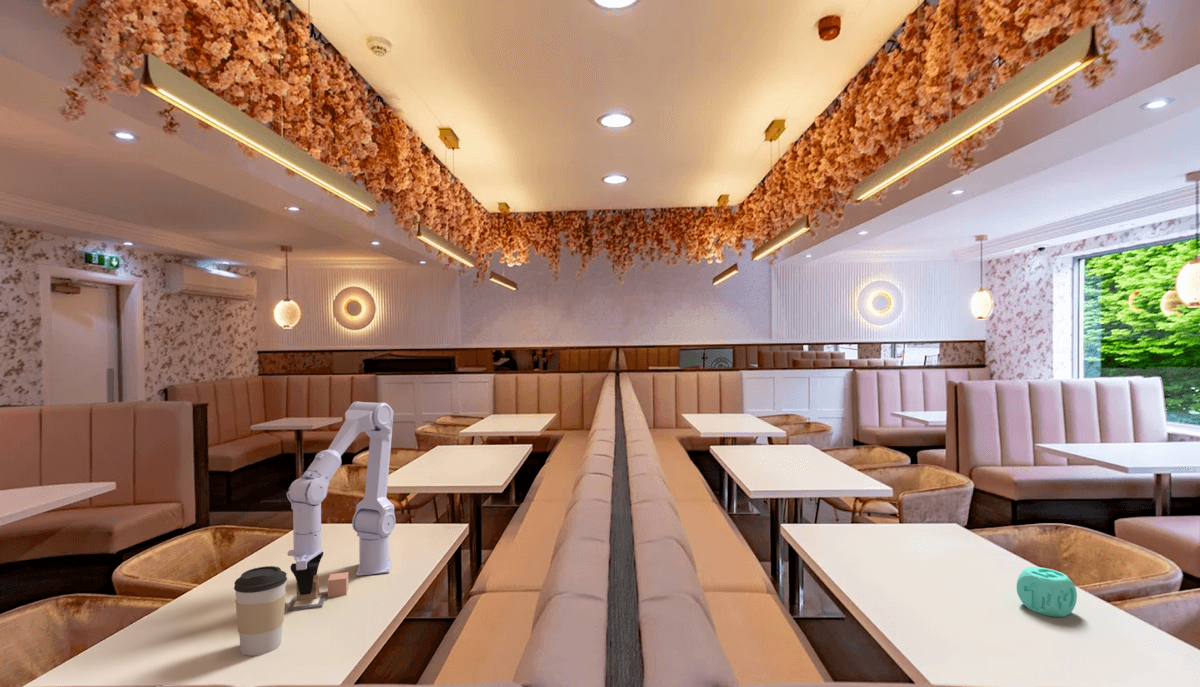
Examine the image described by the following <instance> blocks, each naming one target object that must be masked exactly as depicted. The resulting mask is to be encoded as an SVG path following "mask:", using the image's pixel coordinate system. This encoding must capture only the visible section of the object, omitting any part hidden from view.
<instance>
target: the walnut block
mask: <svg viewBox="0 0 1200 687" xmlns="http://www.w3.org/2000/svg"><path fill="white" fill-rule="evenodd" d="M318 594H320V574H317V575H314V579H313V586H312V591H311V593H310V594H306V595H300V592H299V588H298V584H297V583H296V596H297V601H303V600H312V599H316V598H317V596H318Z"/></svg>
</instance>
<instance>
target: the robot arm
mask: <svg viewBox="0 0 1200 687" xmlns="http://www.w3.org/2000/svg"><path fill="white" fill-rule="evenodd" d="M394 415H395V414H394V410H393V409H392V407H391V405H390V404H388V403H386V402H369V401H368V402H367V401H364V402H363V401H359V400H358V401H354V402H352V403H351V404H350V406H349V407H348V409H347V410H346V412H345V413H344V419H345V420H344V422H343V424H342V425H341V427H340V429H339V430H338V432H337V433H336V435H335V436H334V439H333V440H332V441H331V443H330V445H329V446H328V449H325V450H321V451H319V452H317V453H316V454H315V457H314V459H313V461H312V462H311V463H310V465H309V466H308V467H307V469H306V470H305V471H304V472H303V474H302V476H301V477H299V478H297V479H295V480H294V481H292V483H290V486H289V487H288V491H287V492H286V497H287V500H288V501H289V502H290V505H291V508H290V509H291V510H292V511H293V512H292V514H293V515H292V516H293V517H292V520H293V521H292V522H293V525H292V526H293V529H292V531H293V532H292V533H293V537H292V538H293V541H292V542H293V547H292V549H290V550H288V551H287V556H288V557H293V558H294V561H295V563H291V565H290V571H291V573H292V574H293V575H294V577H295V580H296V585H297V584H298V588H299V592H300V595H306V594H310V593H311V591H312V586H313V579H314V575H318V570H319V565H320V562H321V560H322V558H323V555H324V552H323V547H322V502H323V501H324V499H326V498H327V496H328V490H329V489H328V488H329V486H330V481H331V480H332V479H333V477H334V475H335V474H336V473H337V471H338V469H339V468H340V467H341V466H342V456H343V455H344V453H345V452H346V451H347V450H348V449H349V447H350V446H351V444H352V443H353V442H354V441H355V439H356V438H357V437H358V436H359V434H360V433H365V434H366V435H367V436H368V438H369V446H368V458H367V467H366V468H367V469H366V478H365V479H366V480H365V488H364V489H365V490H364V497H363V499H362V500H361V501H359V502H358V503H356V507H355V508H356V509H355V512H354V515H353V517H352V520H351V525H352V529H353V530H354V532H356V536H357V537H359V538H358V539H359V540H358V542H359V544H358V545H359V551H358V552H359V554H358V556H359V561H358V562H359V564H358V568H357V571H356V576H357V577H359V576H367V575H379V574H380V575H381V574H387V573H390V570H391V564H392V558H389V557H390V555H389V553H390V552H389V550H390V549H389V546H390V544H389V540H390V536H391V534H392V532H393V530H394V529H395V526H396V521H397V520H396V516H395V515H396V514H395V505H394V504H393V503H392V502H391V501H390V500H389V499H388V497H387V494H388V483H389V473H390V472H389V470H390V461H391V451H392V448H391V447H392V439H393V438H392V437H393V424H394Z"/></svg>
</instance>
